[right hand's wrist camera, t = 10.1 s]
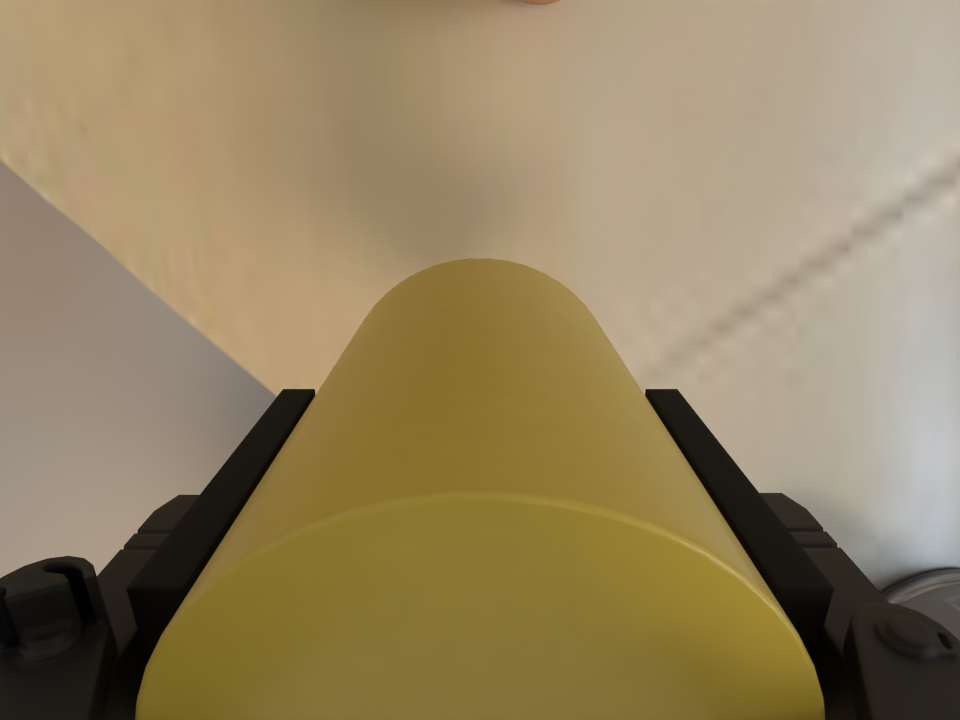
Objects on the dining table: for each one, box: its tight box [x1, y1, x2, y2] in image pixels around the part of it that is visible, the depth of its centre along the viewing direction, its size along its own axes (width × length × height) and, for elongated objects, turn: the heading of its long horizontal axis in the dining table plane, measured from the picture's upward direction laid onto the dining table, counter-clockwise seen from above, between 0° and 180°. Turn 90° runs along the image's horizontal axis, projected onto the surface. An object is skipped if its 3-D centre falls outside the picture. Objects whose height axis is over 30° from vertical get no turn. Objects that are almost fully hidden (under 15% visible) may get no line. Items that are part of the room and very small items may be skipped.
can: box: [135, 259, 825, 720], centre depth 12 cm, size 8×8×11 cm
